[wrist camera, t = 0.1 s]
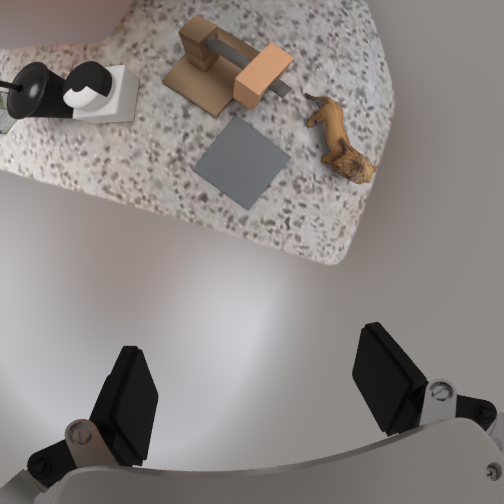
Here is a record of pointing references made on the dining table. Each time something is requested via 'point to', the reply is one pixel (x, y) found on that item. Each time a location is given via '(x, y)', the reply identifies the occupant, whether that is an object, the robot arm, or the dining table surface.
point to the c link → (260, 75)
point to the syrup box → (5, 114)
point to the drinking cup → (36, 94)
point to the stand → (212, 66)
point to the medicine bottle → (101, 93)
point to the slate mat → (241, 162)
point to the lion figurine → (340, 143)
